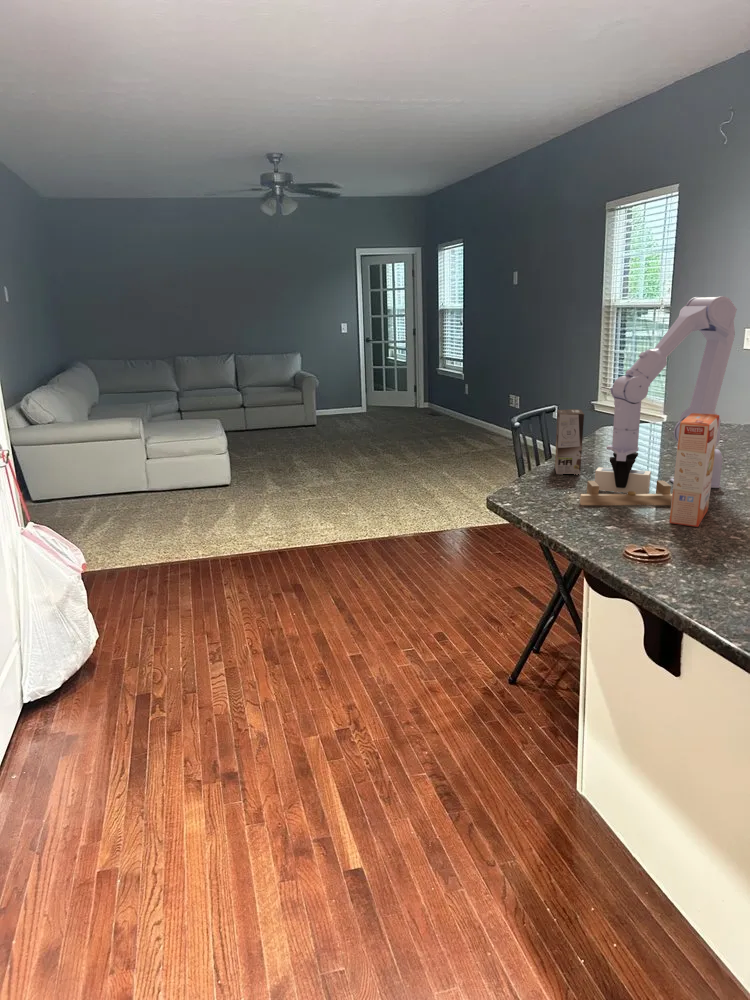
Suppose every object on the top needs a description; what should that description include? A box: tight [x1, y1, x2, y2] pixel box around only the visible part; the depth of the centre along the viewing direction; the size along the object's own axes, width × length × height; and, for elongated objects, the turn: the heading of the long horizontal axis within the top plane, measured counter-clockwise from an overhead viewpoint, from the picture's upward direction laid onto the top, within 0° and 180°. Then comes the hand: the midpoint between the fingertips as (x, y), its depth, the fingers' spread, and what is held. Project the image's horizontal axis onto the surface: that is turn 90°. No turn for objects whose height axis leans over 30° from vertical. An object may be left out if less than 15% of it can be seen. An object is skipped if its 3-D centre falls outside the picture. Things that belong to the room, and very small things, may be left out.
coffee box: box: [554, 408, 585, 476], centre depth 186 cm, size 9×6×16 cm
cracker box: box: [669, 413, 720, 528], centre depth 143 cm, size 14×6×21 cm, turn 148°
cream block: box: [594, 466, 652, 494], centre depth 167 cm, size 12×4×5 cm, turn 64°
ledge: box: [579, 480, 672, 506], centre depth 158 cm, size 22×7×4 cm, turn 86°
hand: (622, 484), depth 167 cm, fingers open, 5 cm apart
